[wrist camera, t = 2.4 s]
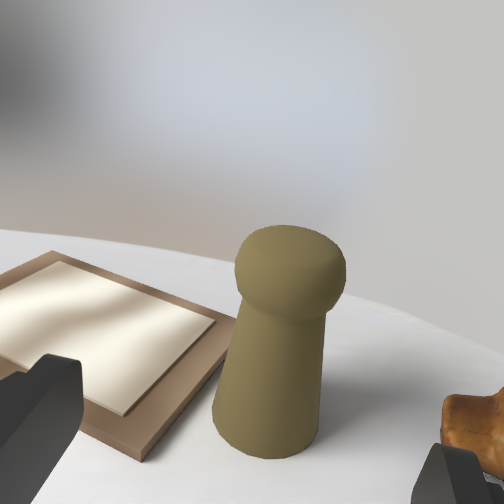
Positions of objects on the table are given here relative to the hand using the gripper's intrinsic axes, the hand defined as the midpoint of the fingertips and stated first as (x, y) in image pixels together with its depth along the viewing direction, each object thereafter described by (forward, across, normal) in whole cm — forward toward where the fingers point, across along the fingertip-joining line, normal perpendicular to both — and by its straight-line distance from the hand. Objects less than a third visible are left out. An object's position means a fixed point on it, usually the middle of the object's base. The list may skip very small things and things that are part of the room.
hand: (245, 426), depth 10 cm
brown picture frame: (+15, +12, +11) cm, 22 cm away
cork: (+12, 0, +11) cm, 16 cm away
